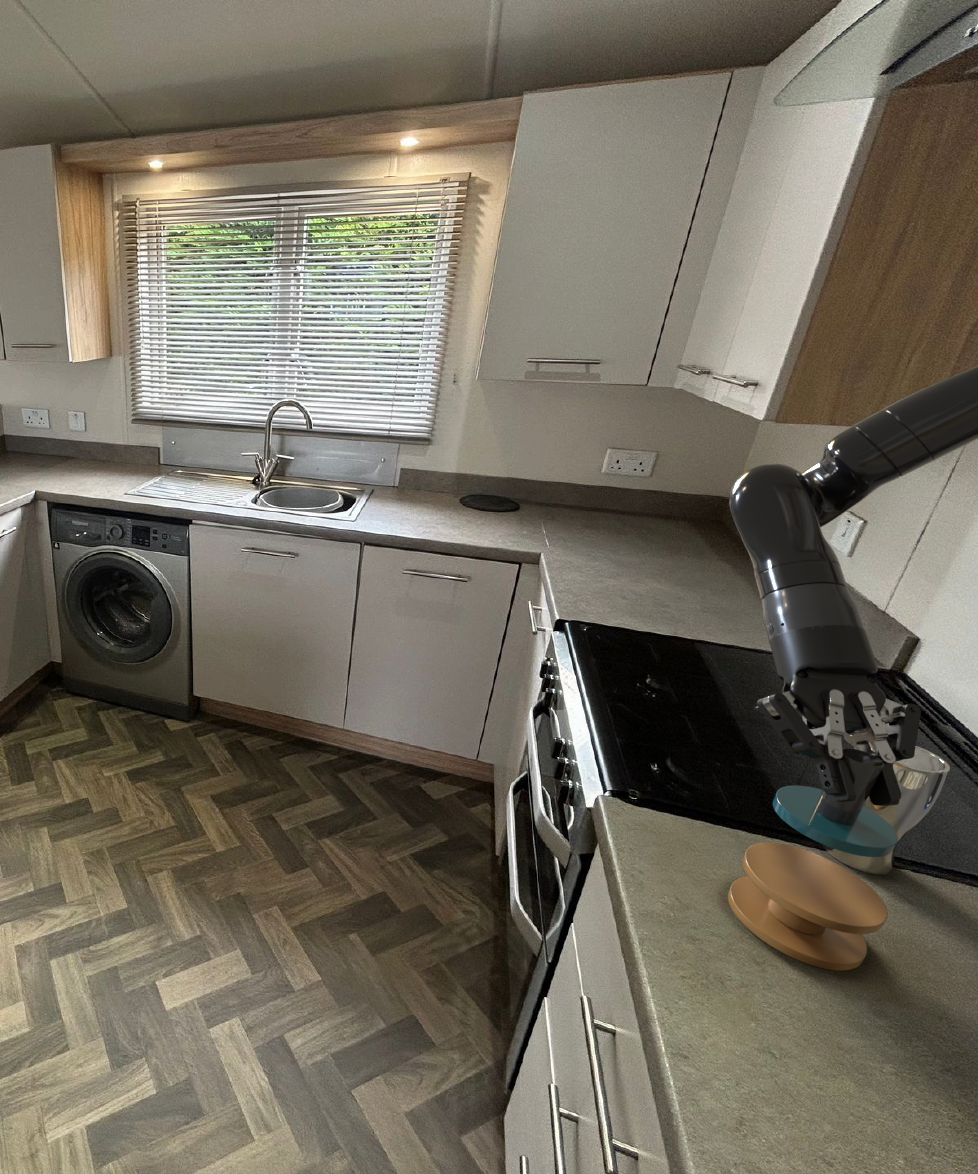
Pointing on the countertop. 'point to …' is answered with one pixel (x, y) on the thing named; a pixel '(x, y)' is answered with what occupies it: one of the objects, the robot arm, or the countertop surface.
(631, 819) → the countertop surface
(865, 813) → the disc
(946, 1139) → the countertop surface
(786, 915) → the stand
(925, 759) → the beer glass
